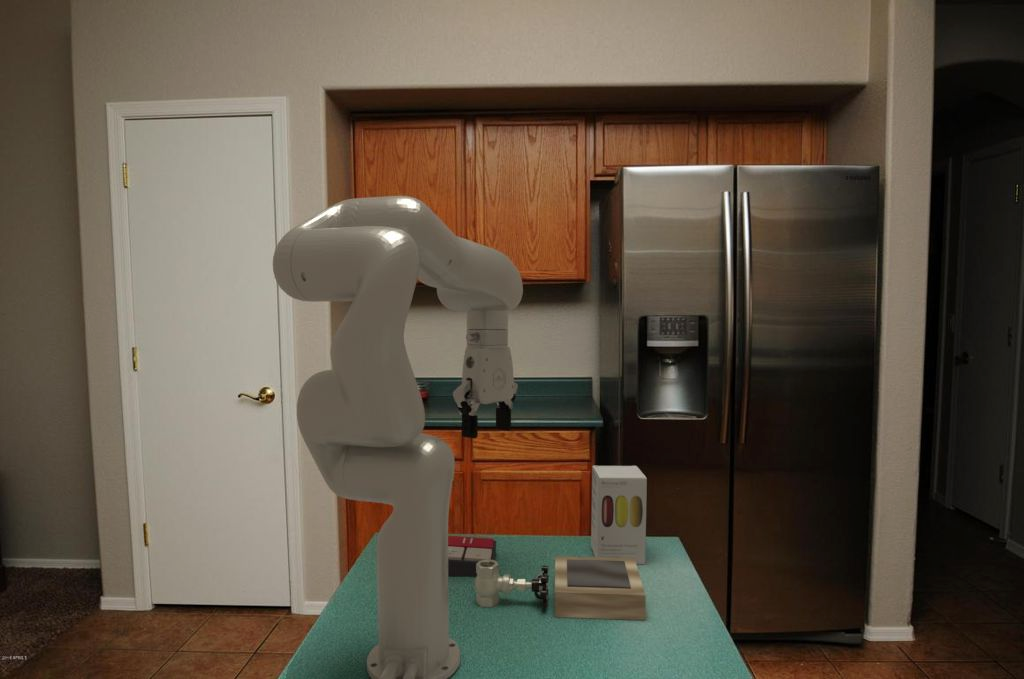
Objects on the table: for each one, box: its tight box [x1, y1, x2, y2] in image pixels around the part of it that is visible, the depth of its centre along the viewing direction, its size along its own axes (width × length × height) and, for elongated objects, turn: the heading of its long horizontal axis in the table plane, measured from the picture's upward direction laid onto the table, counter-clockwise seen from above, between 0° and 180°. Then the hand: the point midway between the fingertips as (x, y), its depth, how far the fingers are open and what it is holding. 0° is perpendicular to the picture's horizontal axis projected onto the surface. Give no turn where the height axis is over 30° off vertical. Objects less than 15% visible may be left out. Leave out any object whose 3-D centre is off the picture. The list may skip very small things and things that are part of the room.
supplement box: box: [590, 465, 648, 565], centre depth 120 cm, size 10×9×17 cm
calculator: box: [448, 535, 497, 578], centre depth 116 cm, size 11×4×15 cm
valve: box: [474, 559, 550, 608], centre depth 101 cm, size 7×7×12 cm
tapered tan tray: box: [554, 555, 646, 621], centre depth 102 cm, size 14×14×4 cm
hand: (487, 433), depth 112 cm, fingers open, 9 cm apart
